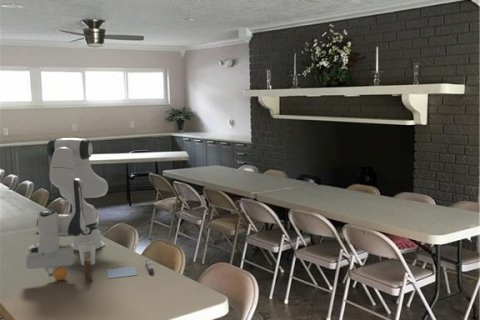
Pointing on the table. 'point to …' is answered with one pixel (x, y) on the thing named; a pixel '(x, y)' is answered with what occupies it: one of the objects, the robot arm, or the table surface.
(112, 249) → the table surface
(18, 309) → the table surface
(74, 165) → the robot arm
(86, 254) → the bridge
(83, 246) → the white cup
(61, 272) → the ball
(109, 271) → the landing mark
